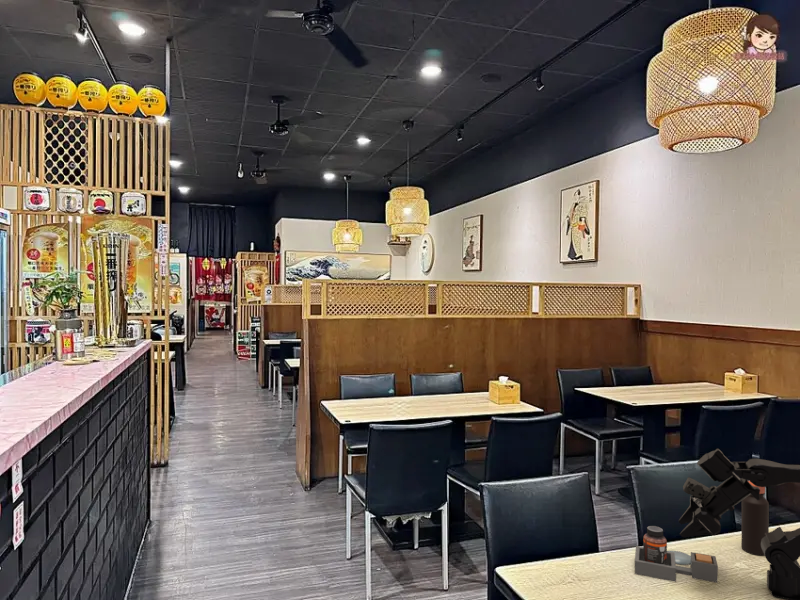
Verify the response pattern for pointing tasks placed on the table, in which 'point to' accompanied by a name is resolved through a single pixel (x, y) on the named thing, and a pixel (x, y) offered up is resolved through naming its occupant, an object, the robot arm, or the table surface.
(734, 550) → the table surface
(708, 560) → the orange-brown cube
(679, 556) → the coaster
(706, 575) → the holder
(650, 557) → the supplement bottle
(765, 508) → the vinegar
